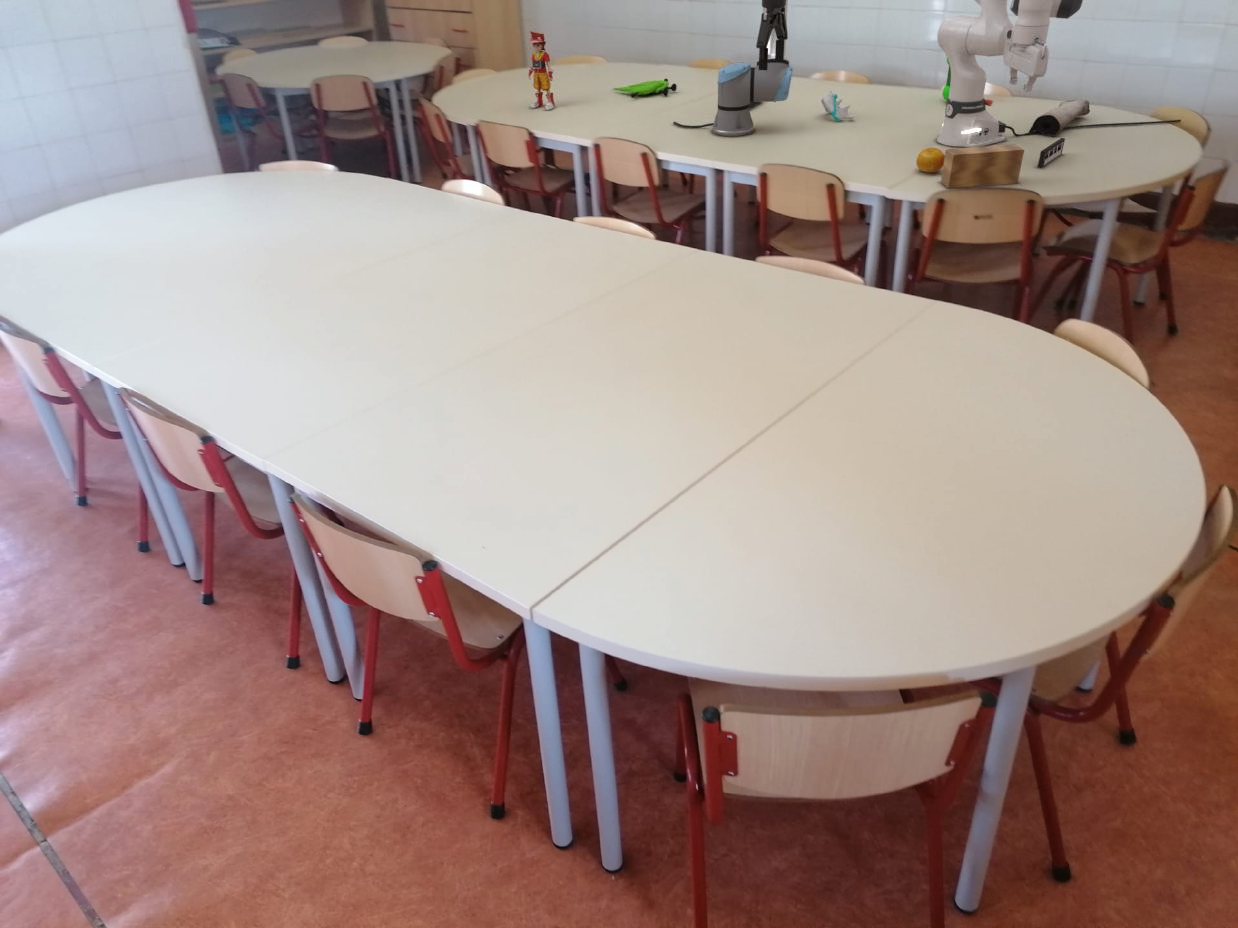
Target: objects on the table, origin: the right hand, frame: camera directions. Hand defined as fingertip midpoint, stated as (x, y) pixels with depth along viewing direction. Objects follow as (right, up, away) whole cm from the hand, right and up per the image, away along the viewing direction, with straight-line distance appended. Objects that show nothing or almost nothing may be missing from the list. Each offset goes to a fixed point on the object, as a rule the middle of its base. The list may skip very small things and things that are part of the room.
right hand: (1019, 87), depth 259 cm
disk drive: (-65, +38, +108) cm, 132 cm away
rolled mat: (+42, +12, +61) cm, 75 cm away
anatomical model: (-33, +25, +86) cm, 95 cm away
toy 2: (-107, +56, +138) cm, 183 cm away
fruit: (-17, -16, +27) cm, 35 cm away
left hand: (-66, +21, +33) cm, 77 cm away
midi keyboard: (+23, -11, +29) cm, 39 cm away
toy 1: (-149, +43, +124) cm, 198 cm away
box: (-6, -23, +15) cm, 28 cm away
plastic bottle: (+17, +34, +96) cm, 103 cm away
